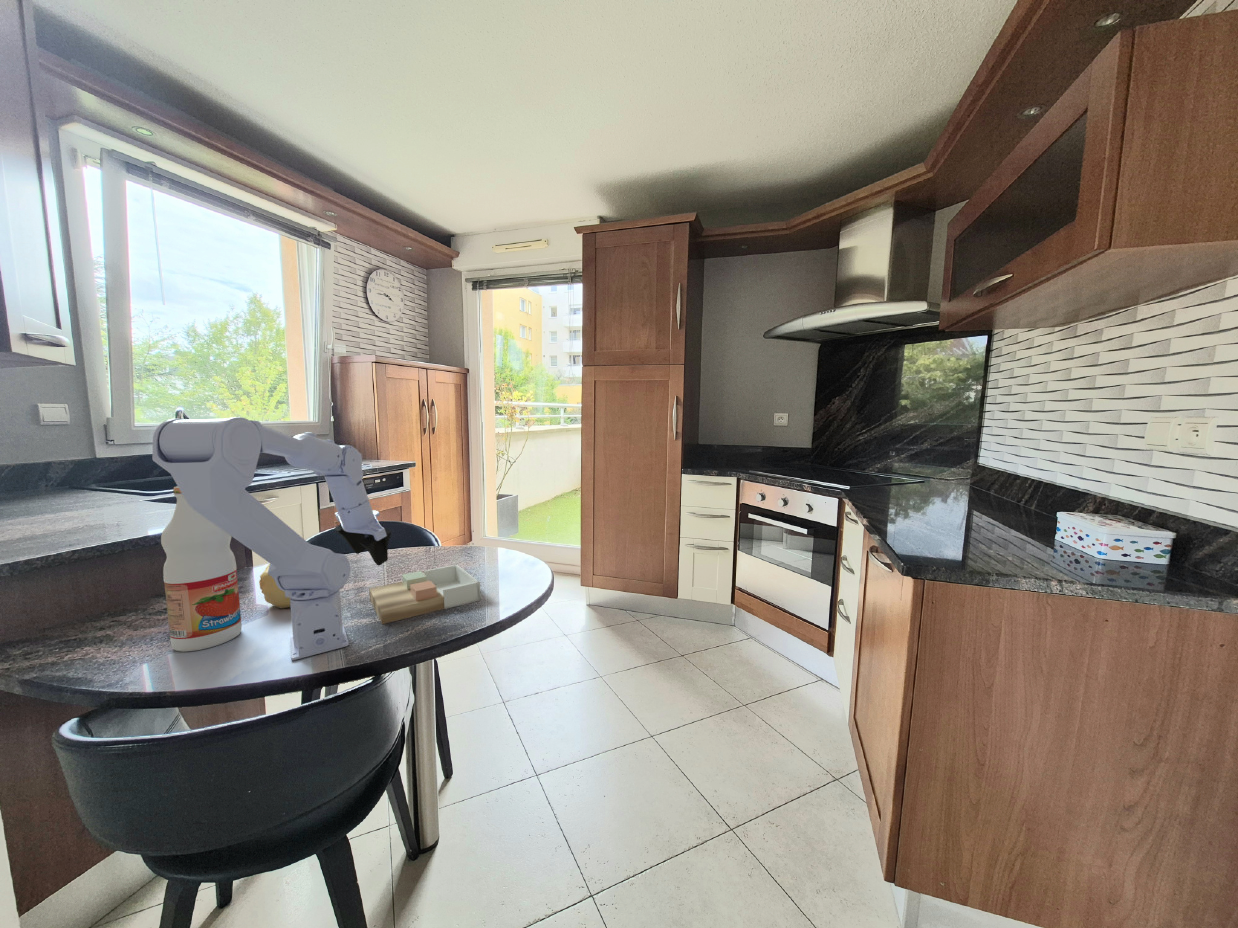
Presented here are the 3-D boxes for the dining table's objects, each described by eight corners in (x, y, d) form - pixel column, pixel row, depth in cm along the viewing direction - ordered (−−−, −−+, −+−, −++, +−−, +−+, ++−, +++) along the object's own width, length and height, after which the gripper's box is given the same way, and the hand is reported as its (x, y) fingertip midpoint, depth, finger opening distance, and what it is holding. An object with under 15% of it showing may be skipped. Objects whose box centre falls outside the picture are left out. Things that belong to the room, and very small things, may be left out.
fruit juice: (199, 630, 84) (184, 483, 82) (254, 626, 86) (241, 481, 83) (155, 655, 75) (137, 490, 73) (217, 650, 76) (201, 487, 74)
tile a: (436, 596, 92) (436, 586, 92) (416, 600, 90) (415, 591, 90) (430, 589, 96) (430, 580, 96) (410, 593, 94) (410, 584, 94)
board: (444, 608, 92) (443, 596, 92) (381, 624, 85) (381, 611, 85) (425, 587, 105) (424, 577, 105) (369, 599, 98) (369, 588, 98)
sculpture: (270, 598, 100) (265, 551, 99) (332, 589, 105) (329, 544, 104) (253, 617, 90) (249, 565, 89) (324, 606, 95) (320, 556, 94)
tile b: (426, 585, 99) (426, 576, 99) (407, 589, 97) (406, 580, 96) (421, 579, 103) (421, 570, 103) (402, 583, 101) (402, 574, 100)
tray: (480, 600, 96) (479, 581, 96) (444, 609, 92) (443, 590, 91) (457, 580, 109) (456, 564, 109) (425, 587, 105) (424, 570, 105)
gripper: (392, 501, 88) (409, 556, 94) (351, 484, 95) (369, 536, 101) (357, 519, 82) (378, 576, 89) (316, 499, 89) (338, 554, 96)
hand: (371, 556), depth 94 cm, fingers open, 7 cm apart
